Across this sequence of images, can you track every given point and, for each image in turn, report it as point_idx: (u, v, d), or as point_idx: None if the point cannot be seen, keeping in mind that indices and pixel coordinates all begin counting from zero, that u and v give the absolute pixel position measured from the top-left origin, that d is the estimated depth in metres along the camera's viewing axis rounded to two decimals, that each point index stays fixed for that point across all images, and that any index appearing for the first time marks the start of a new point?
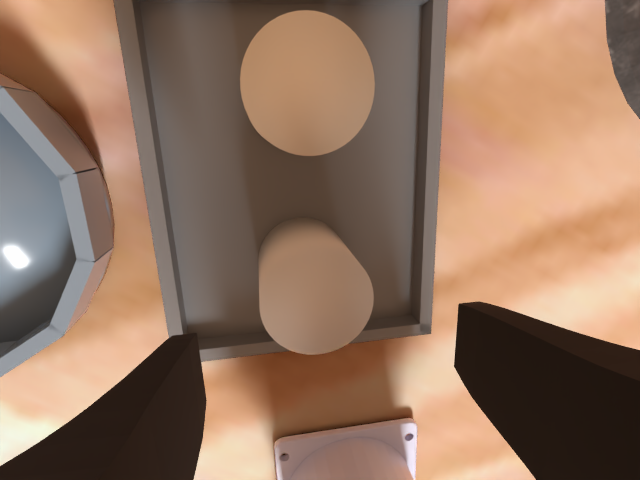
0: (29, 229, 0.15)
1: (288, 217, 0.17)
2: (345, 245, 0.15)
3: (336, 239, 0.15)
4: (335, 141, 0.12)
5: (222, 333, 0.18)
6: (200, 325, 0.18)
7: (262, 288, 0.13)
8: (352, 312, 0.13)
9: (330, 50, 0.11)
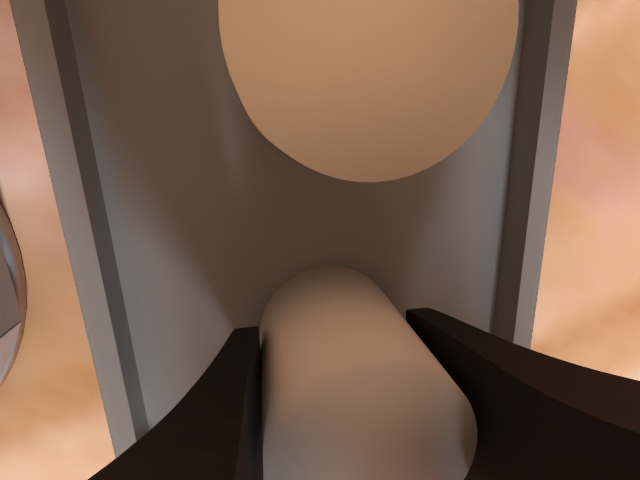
0: None
1: (307, 267, 0.11)
2: None
3: (396, 317, 0.09)
4: (426, 151, 0.05)
5: None
6: None
7: (269, 438, 0.06)
8: (436, 468, 0.07)
9: None
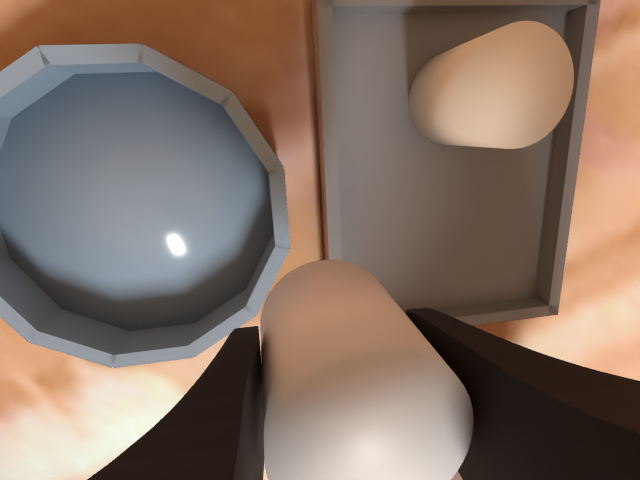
0: (216, 221, 0.17)
1: (436, 208, 0.19)
2: (405, 314, 0.09)
3: (394, 308, 0.09)
4: (535, 135, 0.13)
5: None
6: None
7: (270, 423, 0.07)
8: (434, 455, 0.07)
9: (541, 55, 0.13)
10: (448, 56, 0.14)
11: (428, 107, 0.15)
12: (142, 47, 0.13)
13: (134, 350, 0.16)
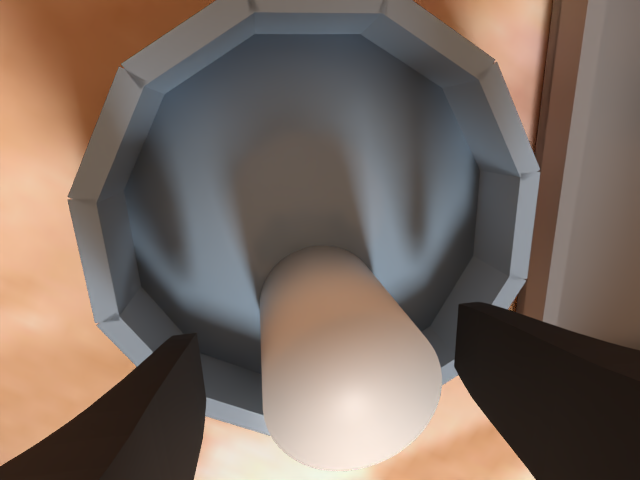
0: (407, 239, 0.13)
1: None
2: (388, 292, 0.11)
3: (377, 286, 0.10)
4: None
5: None
6: None
7: (267, 376, 0.08)
8: (408, 407, 0.09)
9: None
10: None
11: None
12: None
13: None
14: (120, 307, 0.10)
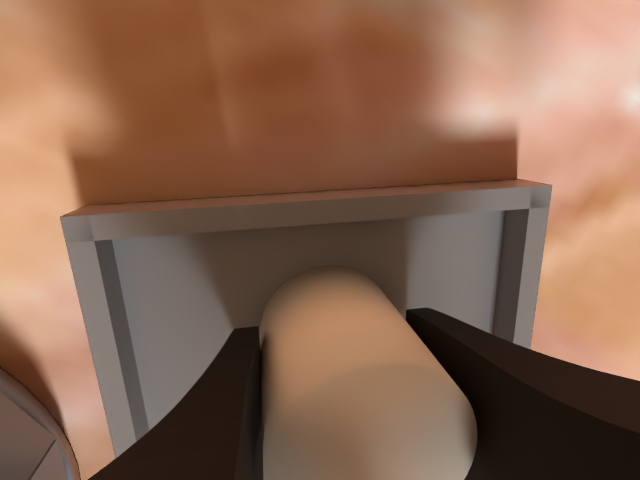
0: None
1: None
2: None
3: None
4: None
5: None
6: None
7: None
8: None
9: (411, 409, 0.07)
10: (281, 335, 0.08)
11: None
12: None
13: None
14: None
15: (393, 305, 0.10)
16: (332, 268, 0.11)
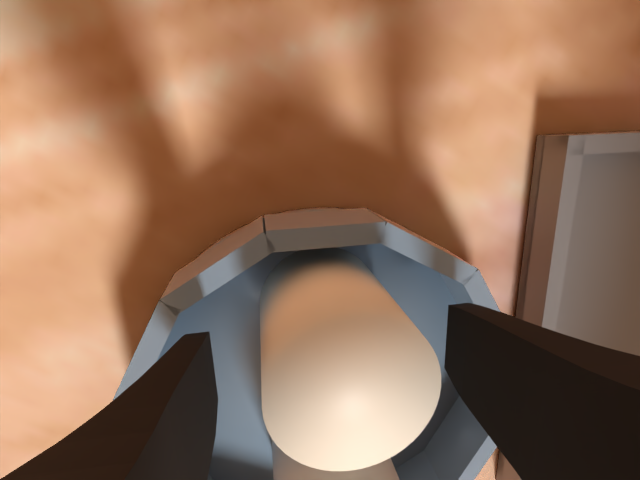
0: None
1: (636, 352, 0.16)
2: None
3: None
4: (385, 451, 0.09)
5: None
6: None
7: None
8: None
9: (385, 354, 0.08)
10: (279, 300, 0.10)
11: None
12: (384, 225, 0.10)
13: None
14: None
15: None
16: (325, 248, 0.12)
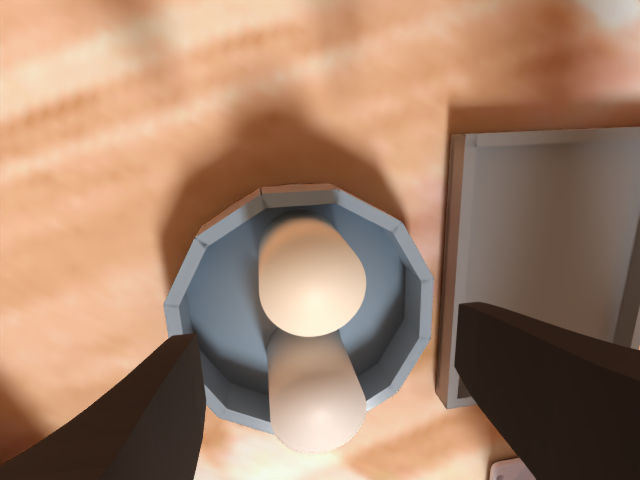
0: (360, 309, 0.20)
1: (536, 294, 0.22)
2: (343, 350, 0.18)
3: (335, 348, 0.17)
4: (334, 325, 0.15)
5: None
6: (458, 376, 0.23)
7: (273, 403, 0.15)
8: (348, 419, 0.16)
9: (330, 262, 0.14)
10: (270, 238, 0.16)
11: None
12: (338, 191, 0.16)
13: None
14: None
15: None
16: (302, 210, 0.18)
